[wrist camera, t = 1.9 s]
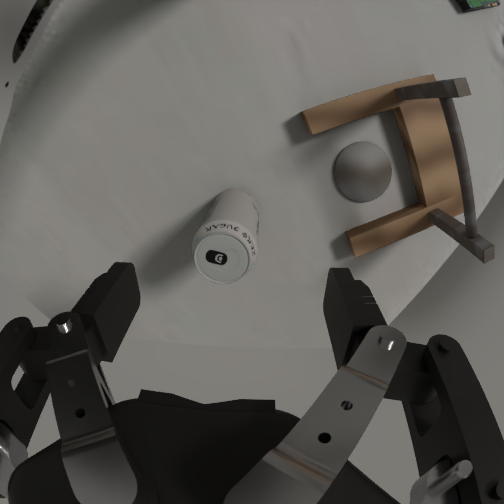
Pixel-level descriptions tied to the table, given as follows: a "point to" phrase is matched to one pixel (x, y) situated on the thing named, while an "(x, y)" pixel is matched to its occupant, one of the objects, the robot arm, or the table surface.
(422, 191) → the wooden crossbar stand
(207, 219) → the energy drink can
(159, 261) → the table surface
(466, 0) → the disk drive
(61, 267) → the table surface
